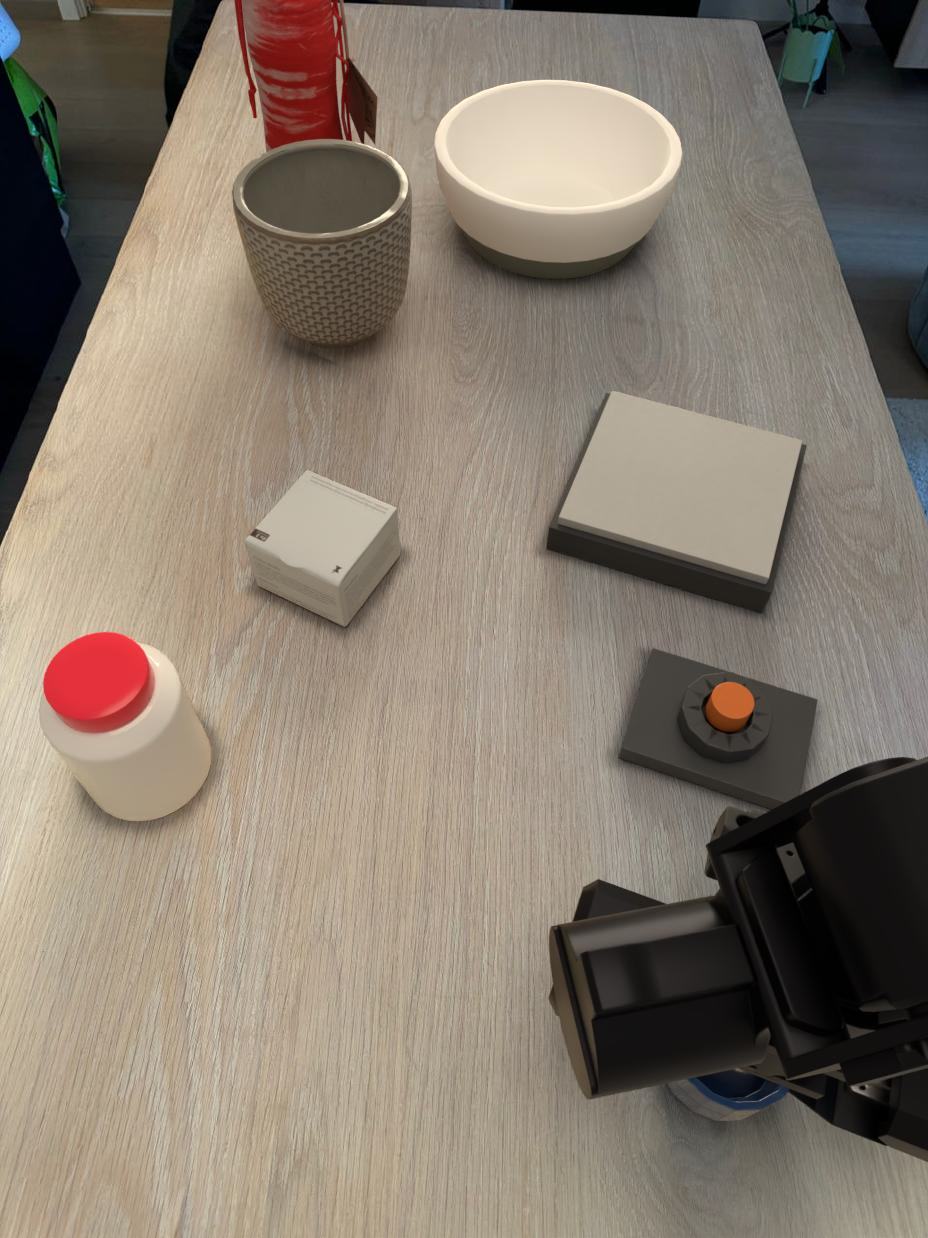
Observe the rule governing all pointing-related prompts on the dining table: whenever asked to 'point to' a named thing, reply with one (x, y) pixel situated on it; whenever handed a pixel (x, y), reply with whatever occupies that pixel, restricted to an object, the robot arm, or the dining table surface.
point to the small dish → (727, 1094)
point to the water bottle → (302, 71)
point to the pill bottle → (124, 726)
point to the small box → (325, 547)
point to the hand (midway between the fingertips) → (720, 1050)
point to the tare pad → (719, 732)
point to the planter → (326, 237)
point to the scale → (680, 499)
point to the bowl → (555, 174)
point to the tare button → (729, 706)
